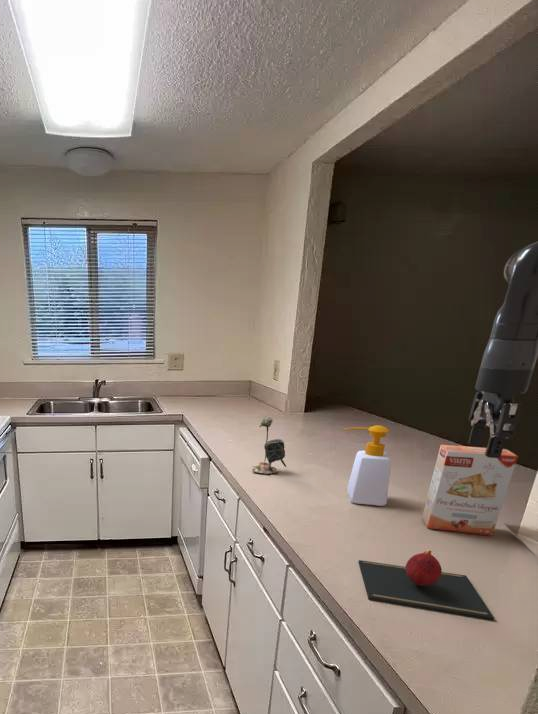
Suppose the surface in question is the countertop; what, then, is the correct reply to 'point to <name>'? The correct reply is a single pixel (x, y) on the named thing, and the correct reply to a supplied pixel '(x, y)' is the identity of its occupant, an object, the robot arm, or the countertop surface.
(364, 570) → the placemat
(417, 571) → the onion
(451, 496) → the cracker box
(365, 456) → the soap bottle
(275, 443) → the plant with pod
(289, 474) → the countertop surface
